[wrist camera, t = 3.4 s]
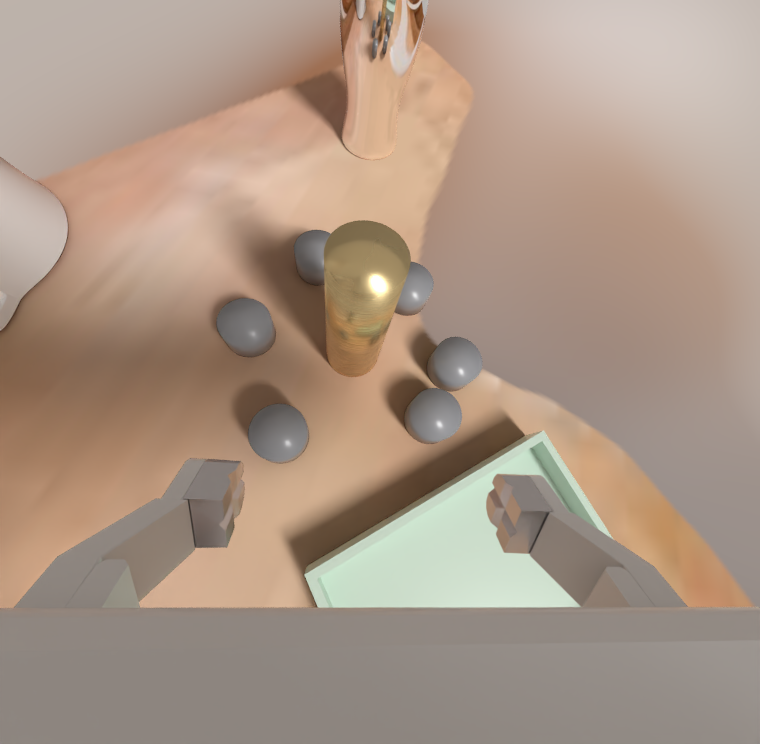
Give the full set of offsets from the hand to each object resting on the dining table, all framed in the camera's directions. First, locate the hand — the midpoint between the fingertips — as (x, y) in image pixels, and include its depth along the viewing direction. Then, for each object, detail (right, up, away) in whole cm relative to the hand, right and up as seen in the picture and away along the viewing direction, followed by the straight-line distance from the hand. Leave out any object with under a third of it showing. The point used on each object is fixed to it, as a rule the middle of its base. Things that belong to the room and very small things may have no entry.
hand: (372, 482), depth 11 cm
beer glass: (-1, +29, +27) cm, 40 cm away
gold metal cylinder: (-2, +5, +18) cm, 19 cm away
